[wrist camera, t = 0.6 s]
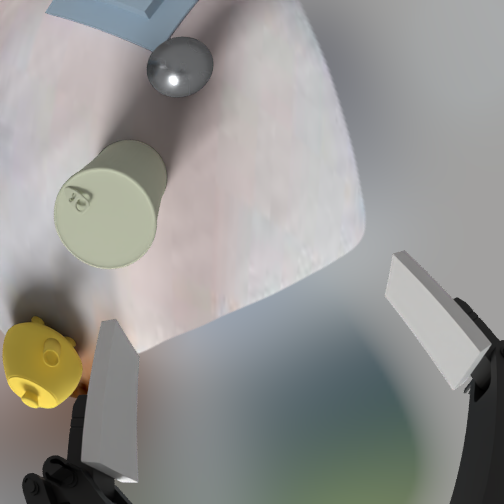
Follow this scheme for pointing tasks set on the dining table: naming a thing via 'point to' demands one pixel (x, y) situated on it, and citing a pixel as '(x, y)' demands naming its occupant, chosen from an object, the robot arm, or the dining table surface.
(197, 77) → the peg
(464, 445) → the robot arm
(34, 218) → the dining table surface
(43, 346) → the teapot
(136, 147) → the can
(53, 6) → the socket block
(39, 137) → the dining table surface
